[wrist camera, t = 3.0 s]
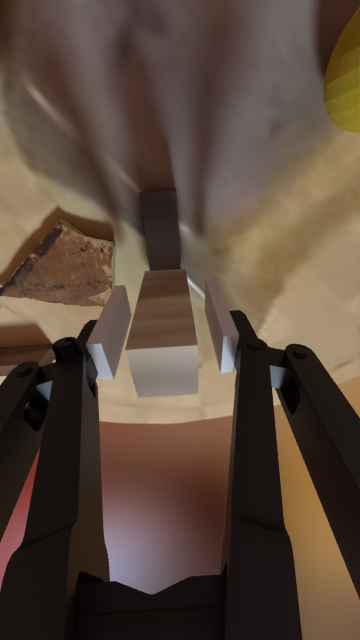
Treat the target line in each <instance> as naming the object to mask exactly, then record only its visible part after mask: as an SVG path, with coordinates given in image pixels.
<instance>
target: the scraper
mask: <svg viewBox="0 0 360 640" xmlns="http://www.w3.org/2000/svg"><path fill="white" fill-rule="evenodd" d="M139 195H140V202H141V209H142V217H143V224H144V231H145V238H146V245H147V252H148V259H149V266H150V271H145V274H144V278H143V281H142V285H141V289H140V293H139V297H138V301H137V305H136V309H135V313H134V317H133V321H132V325H131V329H130V332H129V336H128V340H127V344H126V348H125V352H126V355H127V359H128V363H129V366H130V370H131V373H132V377H133V381H134V384H135V388H136V391H137V395H138V398H146V397H161V396H176V395H192V394H198V343H197V337H196V331H195V325H194V319H193V312H192V306H191V300H190V294H189V288H188V281H187V275H186V269H180V251H179V232H178V213H177V194H176V189H162V190H146V191H143V192H141V193H140V194H139Z"/></svg>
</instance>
